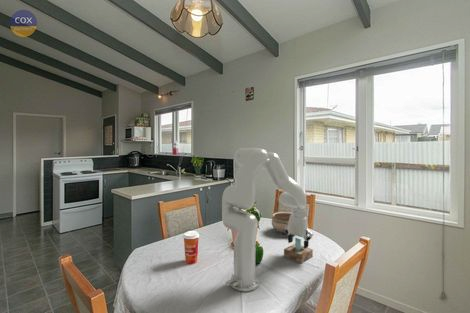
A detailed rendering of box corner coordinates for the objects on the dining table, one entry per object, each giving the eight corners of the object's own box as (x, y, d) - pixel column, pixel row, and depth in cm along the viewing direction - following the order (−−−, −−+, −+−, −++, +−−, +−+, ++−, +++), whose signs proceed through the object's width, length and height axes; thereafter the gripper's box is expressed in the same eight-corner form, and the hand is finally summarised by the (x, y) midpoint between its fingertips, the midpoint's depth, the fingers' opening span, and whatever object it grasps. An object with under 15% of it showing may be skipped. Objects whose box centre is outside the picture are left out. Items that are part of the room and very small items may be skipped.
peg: (299, 258, 129) (299, 240, 129) (294, 256, 132) (294, 238, 131) (302, 256, 131) (302, 238, 131) (297, 254, 134) (297, 236, 133)
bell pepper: (243, 262, 125) (243, 243, 124) (253, 256, 131) (253, 238, 131) (257, 267, 119) (257, 247, 119) (266, 261, 126) (266, 242, 125)
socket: (301, 263, 124) (301, 255, 124) (283, 256, 132) (284, 249, 132) (312, 256, 131) (312, 249, 131) (295, 250, 139) (295, 243, 139)
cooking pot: (263, 229, 175) (264, 212, 174) (284, 225, 183) (284, 209, 182) (285, 241, 152) (285, 222, 152) (308, 236, 161) (308, 218, 160)
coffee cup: (180, 263, 123) (180, 235, 122) (188, 256, 131) (188, 229, 130) (194, 266, 120) (194, 237, 120) (202, 259, 128) (202, 231, 127)
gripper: (281, 211, 134) (280, 242, 135) (309, 218, 122) (308, 252, 122) (289, 209, 139) (288, 238, 140) (316, 216, 127) (316, 248, 127)
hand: (297, 244), depth 131 cm, fingers open, 9 cm apart
